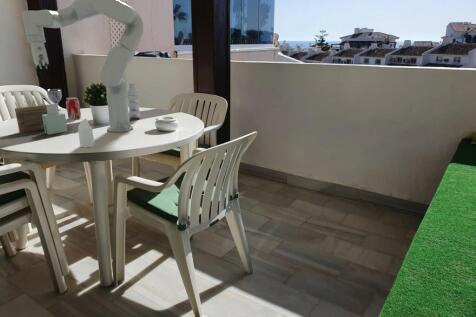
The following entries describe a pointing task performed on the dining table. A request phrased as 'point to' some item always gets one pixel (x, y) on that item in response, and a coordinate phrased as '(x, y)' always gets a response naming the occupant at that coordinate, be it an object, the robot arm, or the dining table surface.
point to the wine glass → (54, 95)
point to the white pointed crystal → (85, 134)
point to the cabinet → (54, 120)
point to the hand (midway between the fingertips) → (43, 77)
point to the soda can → (73, 108)
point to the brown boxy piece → (30, 118)
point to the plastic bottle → (133, 102)
